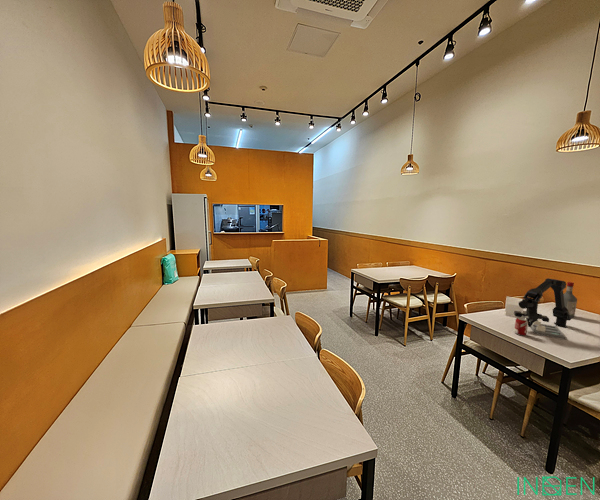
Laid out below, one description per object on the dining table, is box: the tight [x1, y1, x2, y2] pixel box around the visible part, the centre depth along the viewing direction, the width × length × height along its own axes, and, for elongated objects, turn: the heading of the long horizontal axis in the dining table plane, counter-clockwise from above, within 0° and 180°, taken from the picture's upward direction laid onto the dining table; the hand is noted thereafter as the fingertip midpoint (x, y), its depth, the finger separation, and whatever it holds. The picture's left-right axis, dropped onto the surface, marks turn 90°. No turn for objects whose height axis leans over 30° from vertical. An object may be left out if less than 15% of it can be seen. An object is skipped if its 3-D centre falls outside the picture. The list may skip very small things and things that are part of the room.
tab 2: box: [536, 325, 546, 332], centre depth 179 cm, size 3×4×5 cm
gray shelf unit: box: [529, 323, 566, 340], centre depth 182 cm, size 19×16×2 cm
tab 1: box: [533, 319, 542, 325], centre depth 189 cm, size 3×4×5 cm
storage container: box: [504, 296, 524, 318], centre depth 217 cm, size 25×11×11 cm, turn 140°
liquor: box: [563, 281, 578, 319], centre depth 210 cm, size 9×9×30 cm
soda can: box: [513, 316, 529, 336], centre depth 177 cm, size 7×7×12 cm
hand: (529, 326), depth 183 cm, fingers closed
